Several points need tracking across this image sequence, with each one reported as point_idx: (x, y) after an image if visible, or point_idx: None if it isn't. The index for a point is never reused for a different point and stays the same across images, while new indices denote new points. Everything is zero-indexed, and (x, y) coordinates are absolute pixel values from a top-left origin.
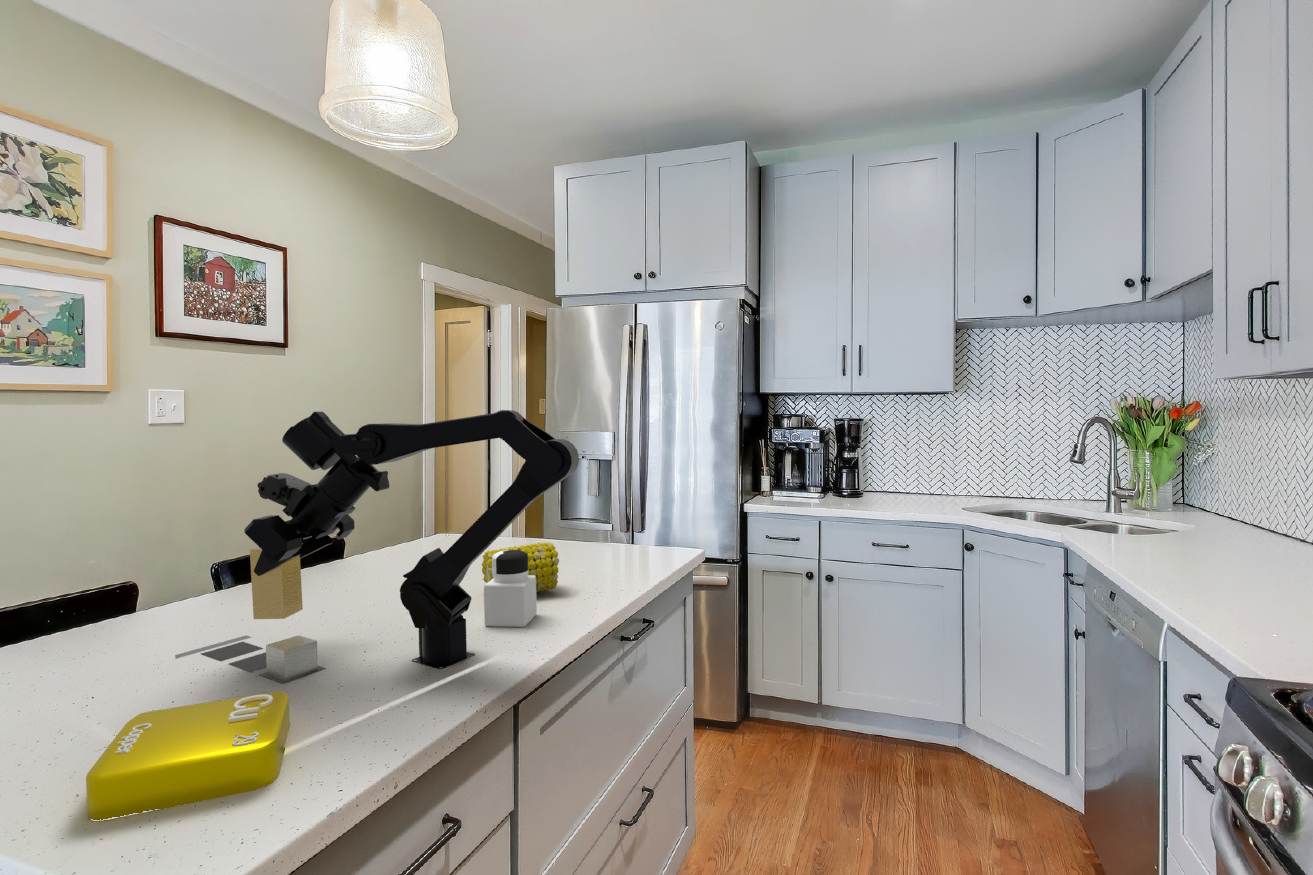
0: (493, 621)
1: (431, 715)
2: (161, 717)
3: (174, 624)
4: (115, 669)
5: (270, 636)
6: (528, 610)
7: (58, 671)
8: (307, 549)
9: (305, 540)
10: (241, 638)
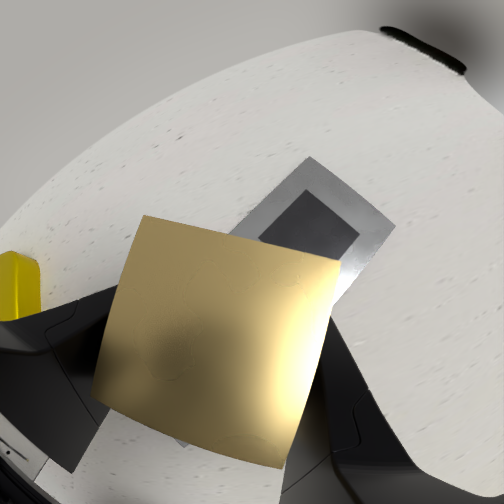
0: None
1: (58, 497)
2: (2, 280)
3: (443, 116)
4: (277, 112)
5: (400, 266)
6: None
7: (283, 70)
8: (287, 482)
9: (299, 500)
10: (380, 224)
